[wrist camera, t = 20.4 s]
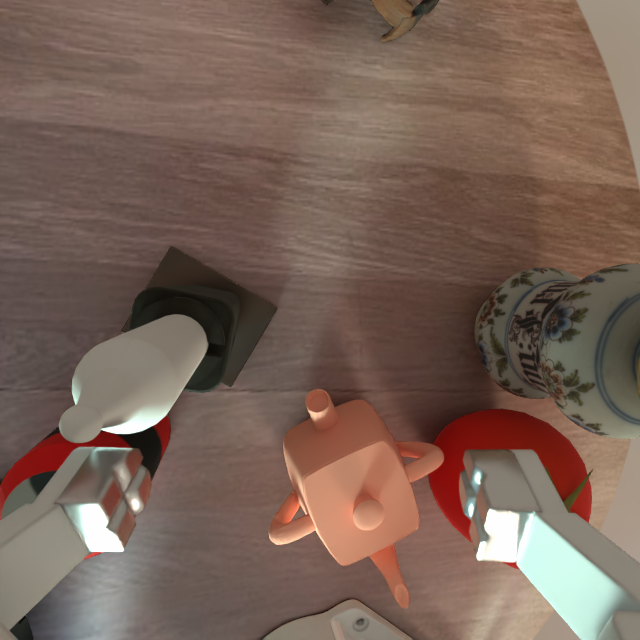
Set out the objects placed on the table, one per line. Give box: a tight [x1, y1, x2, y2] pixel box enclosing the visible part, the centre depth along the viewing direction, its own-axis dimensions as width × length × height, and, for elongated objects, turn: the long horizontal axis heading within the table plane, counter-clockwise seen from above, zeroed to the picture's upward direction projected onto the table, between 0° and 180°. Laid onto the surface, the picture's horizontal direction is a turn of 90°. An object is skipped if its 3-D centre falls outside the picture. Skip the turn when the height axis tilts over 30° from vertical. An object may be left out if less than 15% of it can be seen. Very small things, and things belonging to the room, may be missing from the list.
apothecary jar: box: [475, 264, 640, 439], centre depth 30 cm, size 12×12×18 cm
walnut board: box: [122, 246, 277, 387], centre depth 33 cm, size 10×8×1 cm
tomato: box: [428, 409, 592, 569], centre depth 34 cm, size 12×14×11 cm
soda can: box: [0, 415, 171, 559], centre depth 28 cm, size 8×8×12 cm
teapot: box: [269, 389, 444, 608], centre depth 32 cm, size 14×12×10 cm
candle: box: [59, 284, 241, 443], centre depth 20 cm, size 5×5×25 cm
